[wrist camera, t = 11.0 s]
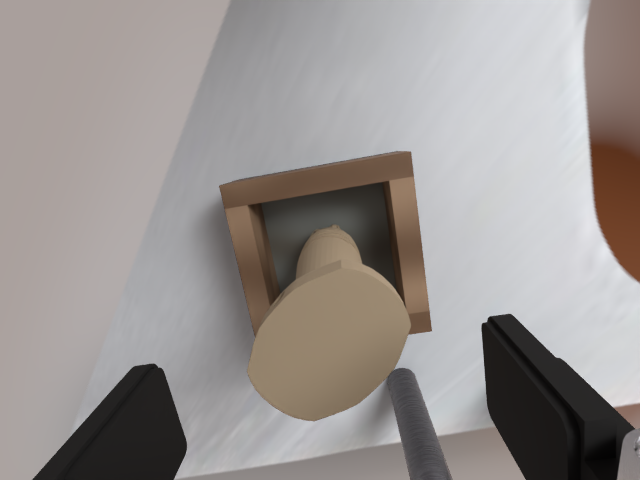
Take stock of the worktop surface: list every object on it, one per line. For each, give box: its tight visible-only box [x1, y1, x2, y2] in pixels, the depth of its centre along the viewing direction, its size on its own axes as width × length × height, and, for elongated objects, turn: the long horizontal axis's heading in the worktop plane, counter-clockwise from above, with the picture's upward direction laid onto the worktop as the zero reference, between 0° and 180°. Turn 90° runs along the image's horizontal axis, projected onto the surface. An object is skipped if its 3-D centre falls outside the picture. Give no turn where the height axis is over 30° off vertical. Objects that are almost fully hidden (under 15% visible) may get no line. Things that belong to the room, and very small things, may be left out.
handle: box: [247, 224, 411, 421], centre depth 21 cm, size 5×6×15 cm
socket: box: [219, 151, 432, 338], centre depth 27 cm, size 12×12×5 cm
